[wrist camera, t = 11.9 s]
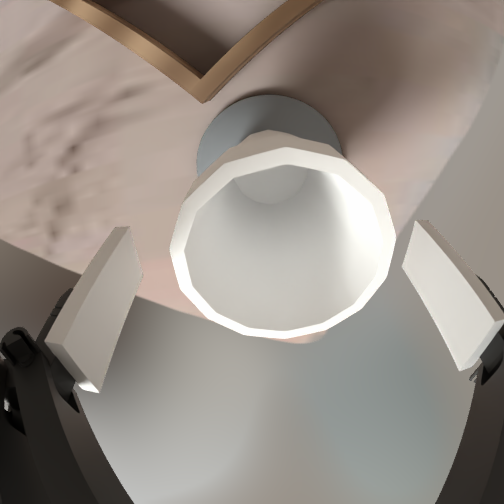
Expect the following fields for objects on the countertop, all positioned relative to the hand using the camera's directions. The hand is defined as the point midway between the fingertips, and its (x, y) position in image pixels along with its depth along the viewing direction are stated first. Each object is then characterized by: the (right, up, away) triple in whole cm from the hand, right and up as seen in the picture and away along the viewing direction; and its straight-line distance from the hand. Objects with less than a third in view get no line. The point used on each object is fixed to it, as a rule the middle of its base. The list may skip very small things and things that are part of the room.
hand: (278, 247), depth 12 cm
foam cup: (0, +7, +10) cm, 12 cm away
